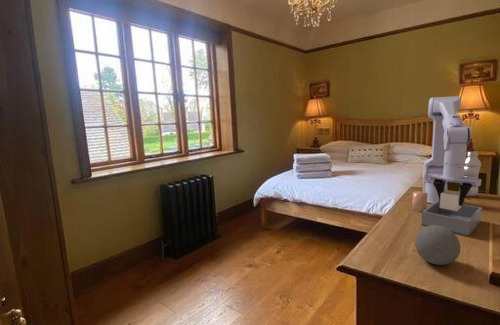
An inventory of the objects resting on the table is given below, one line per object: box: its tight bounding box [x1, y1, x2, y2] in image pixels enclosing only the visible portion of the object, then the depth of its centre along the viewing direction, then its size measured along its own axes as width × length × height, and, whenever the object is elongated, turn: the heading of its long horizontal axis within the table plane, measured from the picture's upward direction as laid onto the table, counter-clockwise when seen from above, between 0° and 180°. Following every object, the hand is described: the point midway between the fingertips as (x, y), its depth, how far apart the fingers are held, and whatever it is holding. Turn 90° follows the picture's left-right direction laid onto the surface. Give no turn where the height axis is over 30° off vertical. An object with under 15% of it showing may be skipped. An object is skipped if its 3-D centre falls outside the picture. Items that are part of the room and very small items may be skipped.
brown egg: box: [411, 190, 428, 213], centre depth 113 cm, size 5×5×7 cm
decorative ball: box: [414, 225, 462, 266], centre depth 75 cm, size 10×10×10 cm
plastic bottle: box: [459, 150, 482, 197], centre depth 126 cm, size 6×7×20 cm
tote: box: [420, 200, 483, 238], centre depth 99 cm, size 17×13×5 cm
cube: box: [440, 190, 461, 211], centre depth 96 cm, size 5×5×5 cm
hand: (450, 203), depth 97 cm, fingers closed on cube, 5 cm apart
